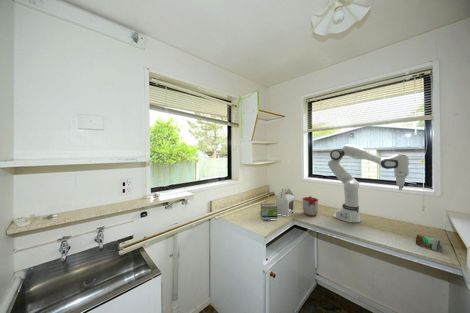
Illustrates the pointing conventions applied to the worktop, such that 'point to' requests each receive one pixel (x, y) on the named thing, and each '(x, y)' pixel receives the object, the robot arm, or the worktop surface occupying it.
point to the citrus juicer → (310, 206)
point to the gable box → (285, 202)
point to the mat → (439, 248)
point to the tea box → (268, 211)
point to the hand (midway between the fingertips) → (401, 189)
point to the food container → (427, 242)
